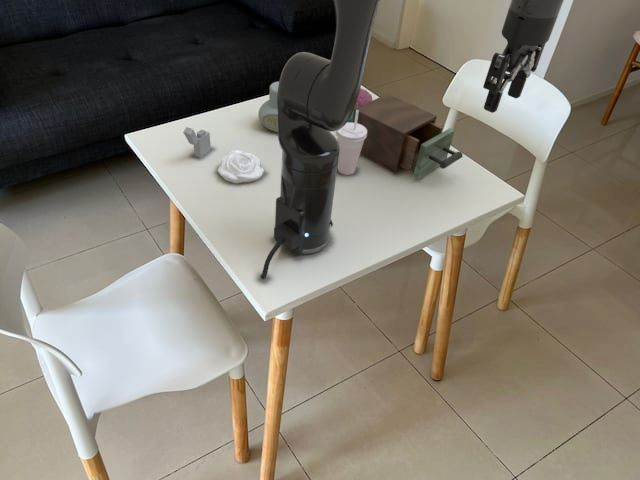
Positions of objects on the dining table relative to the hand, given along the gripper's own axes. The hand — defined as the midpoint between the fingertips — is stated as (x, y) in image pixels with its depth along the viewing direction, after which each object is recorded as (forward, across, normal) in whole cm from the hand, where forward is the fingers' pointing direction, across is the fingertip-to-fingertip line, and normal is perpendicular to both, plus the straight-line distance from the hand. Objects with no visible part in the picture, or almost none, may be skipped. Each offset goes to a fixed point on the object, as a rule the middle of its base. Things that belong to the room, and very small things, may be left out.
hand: (501, 103), depth 95 cm
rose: (+20, +31, -37) cm, 52 cm away
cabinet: (+20, 0, -22) cm, 30 cm away
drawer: (+19, 0, -14) cm, 24 cm away
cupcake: (+20, -6, -38) cm, 43 cm away
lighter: (+20, +34, -48) cm, 62 cm away
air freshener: (+20, +11, -46) cm, 51 cm away
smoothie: (+20, +13, -23) cm, 33 cm away
